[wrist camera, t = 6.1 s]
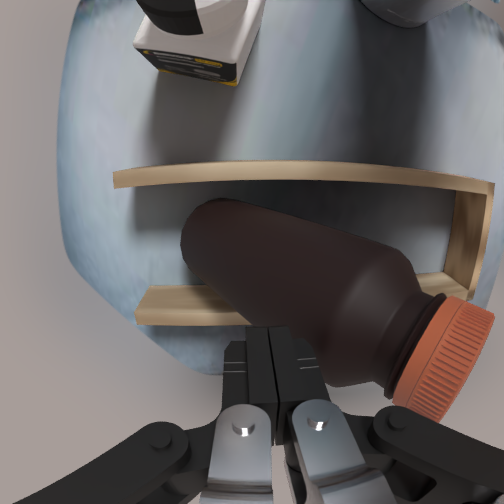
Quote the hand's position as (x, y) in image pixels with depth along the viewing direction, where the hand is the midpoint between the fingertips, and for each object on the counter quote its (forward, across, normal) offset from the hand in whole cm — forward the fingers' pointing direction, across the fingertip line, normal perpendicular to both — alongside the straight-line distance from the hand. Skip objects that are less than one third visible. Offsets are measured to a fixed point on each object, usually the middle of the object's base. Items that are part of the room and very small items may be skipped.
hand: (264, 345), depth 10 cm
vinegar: (+14, +3, 0) cm, 15 cm away
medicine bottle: (+16, +3, -17) cm, 23 cm away
